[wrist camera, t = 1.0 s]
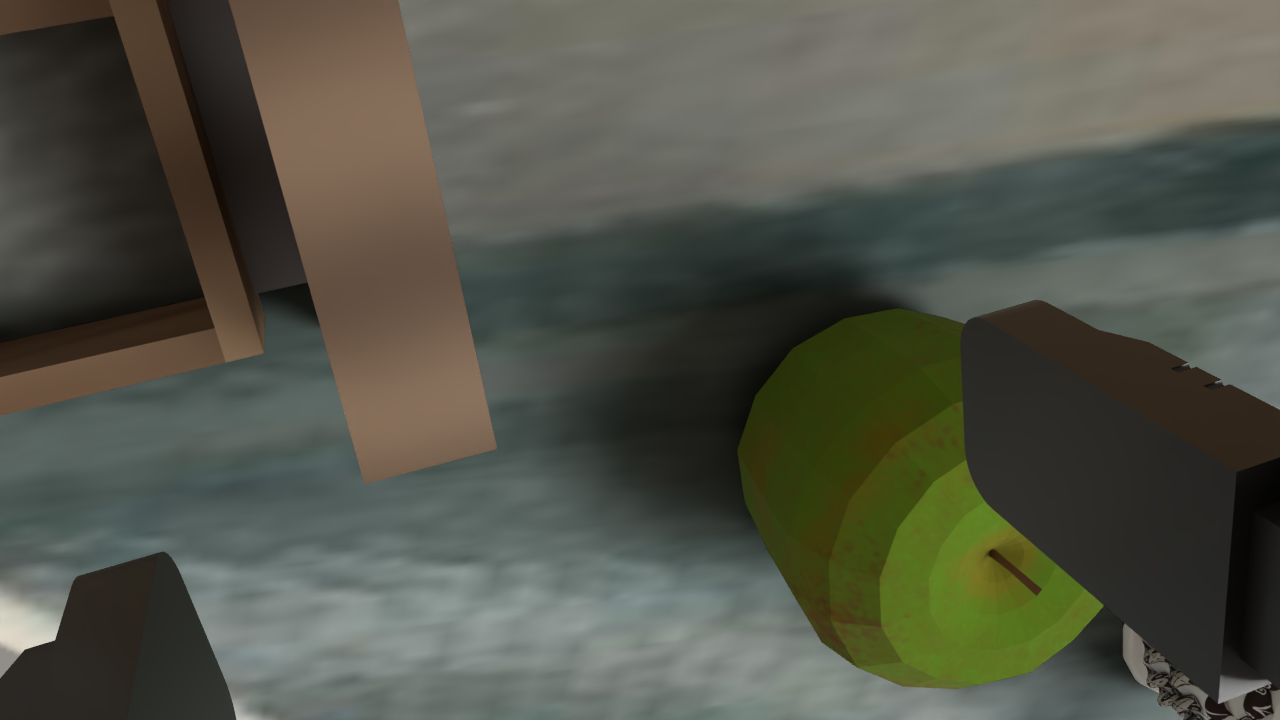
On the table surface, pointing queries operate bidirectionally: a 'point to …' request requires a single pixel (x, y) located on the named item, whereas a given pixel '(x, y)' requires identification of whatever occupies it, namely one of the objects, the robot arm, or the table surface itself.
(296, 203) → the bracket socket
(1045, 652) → the apple
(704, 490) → the table surface
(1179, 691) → the decorative candle
